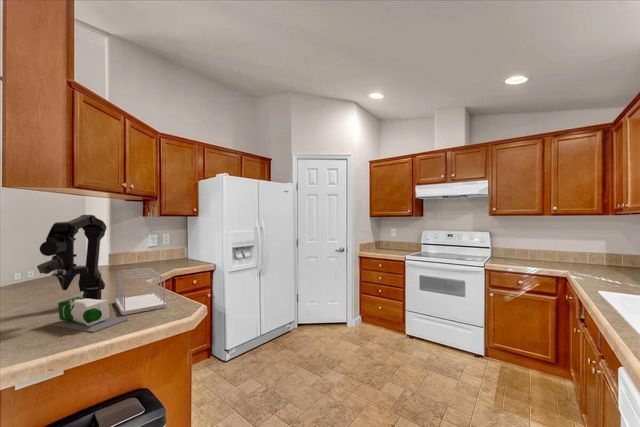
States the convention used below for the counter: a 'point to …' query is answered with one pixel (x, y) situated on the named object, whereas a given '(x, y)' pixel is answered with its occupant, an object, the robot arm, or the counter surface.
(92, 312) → the soya milk
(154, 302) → the file sorter
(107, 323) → the mat
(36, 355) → the counter surface
